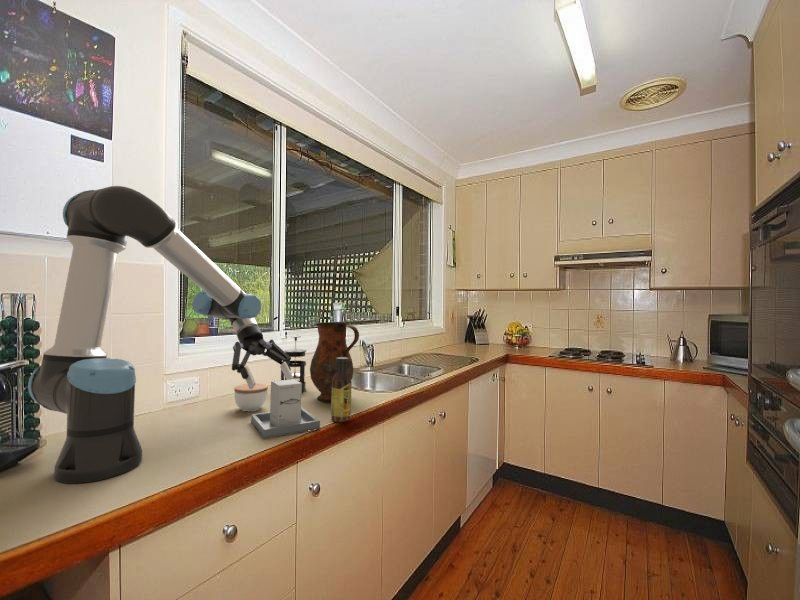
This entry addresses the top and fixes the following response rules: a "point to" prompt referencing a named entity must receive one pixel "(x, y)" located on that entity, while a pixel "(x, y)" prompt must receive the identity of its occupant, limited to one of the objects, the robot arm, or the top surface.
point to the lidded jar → (250, 396)
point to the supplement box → (285, 402)
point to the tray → (269, 430)
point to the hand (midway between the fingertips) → (272, 383)
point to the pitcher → (330, 356)
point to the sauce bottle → (341, 392)
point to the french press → (297, 364)
